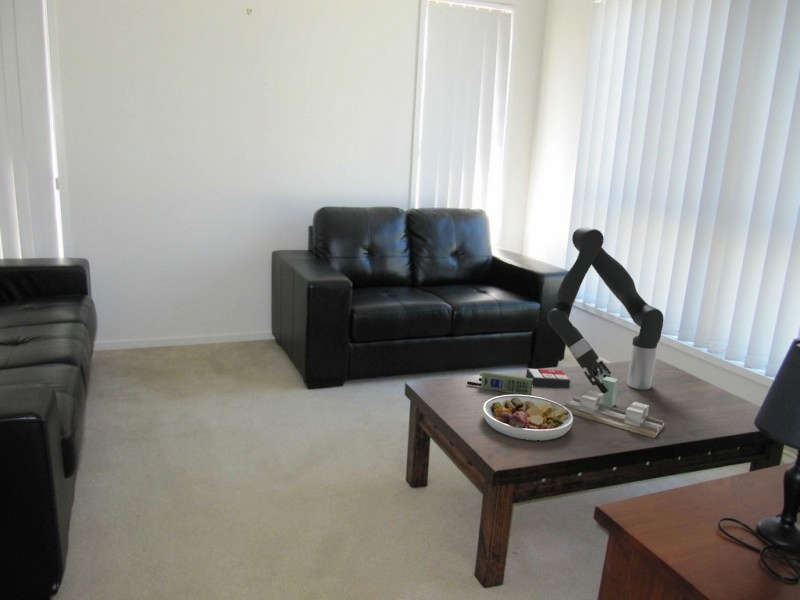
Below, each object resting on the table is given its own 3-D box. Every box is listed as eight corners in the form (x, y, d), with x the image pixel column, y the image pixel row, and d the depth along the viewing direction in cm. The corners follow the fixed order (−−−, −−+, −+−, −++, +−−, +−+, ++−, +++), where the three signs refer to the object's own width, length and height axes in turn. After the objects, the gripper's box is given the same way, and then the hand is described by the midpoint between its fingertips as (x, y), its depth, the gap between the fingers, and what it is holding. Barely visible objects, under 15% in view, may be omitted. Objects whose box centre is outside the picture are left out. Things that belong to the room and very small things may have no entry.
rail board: (575, 401, 237) (577, 385, 235) (664, 426, 218) (666, 408, 217) (562, 411, 227) (564, 393, 226) (654, 437, 209) (657, 419, 207)
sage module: (603, 401, 239) (606, 376, 236) (615, 404, 236) (618, 379, 234) (599, 404, 235) (602, 379, 233) (611, 407, 232) (614, 382, 230)
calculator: (570, 379, 251) (534, 376, 250) (569, 389, 252) (532, 386, 251) (562, 369, 262) (527, 367, 261) (560, 379, 263) (525, 376, 262)
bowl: (497, 401, 235) (499, 381, 233) (579, 419, 222) (581, 398, 220) (469, 431, 208) (471, 408, 207) (560, 453, 196) (563, 429, 194)
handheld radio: (530, 397, 240) (466, 387, 247) (531, 394, 243) (467, 384, 250) (532, 380, 239) (467, 370, 246) (533, 377, 242) (469, 368, 249)
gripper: (584, 352, 230) (611, 389, 226) (597, 344, 241) (624, 379, 237) (568, 362, 234) (595, 399, 231) (582, 354, 246) (608, 389, 242)
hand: (609, 389), depth 234 cm, fingers open, 8 cm apart
